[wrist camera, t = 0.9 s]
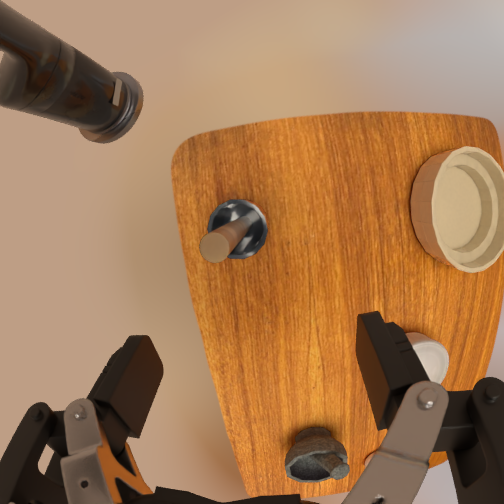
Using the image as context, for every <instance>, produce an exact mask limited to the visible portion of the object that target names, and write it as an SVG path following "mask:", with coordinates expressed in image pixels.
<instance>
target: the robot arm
mask: <svg viewBox="0 0 504 504" xmlns="http://www.w3.org/2000/svg"><path fill="white" fill-rule="evenodd" d="M0 51H3V52H4V55H3V58H2V61H1V63H0V106H2V107H5V108H9V109H13V110H18V111H22V112H26V113H29V114H33V115H37V116H41V117H44V118H48V119H51V120H54V121H58V122H61V123H65V124H68V125H71V126H75V127H78V128H81V129H84V130H87V131H88V132H91V133H94V134H103V133H106V132H108V131H110V130H112V129H113V128H115V127H116V126H117V125H118V124H119V123H120V122H121V121H122V120H123V118H124V117H125V115H126V113H127V111H128V109H129V106H130V103H131V91H130V88H129V86H128V84H127V83H126V82H125V81H123V80H122V79H120V78H118V77H116V76H115V75H114V74H112V73H111V72H109V71H108V70H107V69H105V68H104V67H102V66H101V65H99V64H98V63H96V62H95V61H93V60H92V59H91V58H89V57H88V56H86V55H84V54H83V53H82V52H80V51H78V50H77V49H75V48H74V47H72V46H70V45H69V44H67V43H66V42H64V41H63V40H61V39H60V38H58V37H56V36H55V35H53V34H51V33H50V32H48V31H47V30H45V29H44V28H42V27H41V26H39V25H38V24H36V23H34V22H33V21H31V20H30V19H28V18H26V17H25V16H23V15H22V14H20V13H18V12H17V11H15V10H14V9H12V8H11V7H9V6H8V5H6V4H5V3H3V2H2V1H1V0H0ZM356 356H357V361H358V364H359V367H360V370H361V374H362V377H363V380H364V384H365V387H366V390H367V394H368V397H369V401H370V404H371V408H372V411H373V415H374V418H375V422H376V426H377V430H378V431H379V430H383V429H386V428H387V430H388V432H387V434H386V436H385V438H384V440H383V441H382V443H381V445H380V447H379V448H378V449H377V450H376V452H375V453H374V455H373V457H372V458H371V460H370V462H369V463H368V465H367V467H366V468H365V470H364V471H363V473H362V475H361V476H360V478H359V479H358V481H357V482H356V484H355V485H354V487H353V488H352V490H351V491H350V493H349V494H348V495H347V497H346V498H345V500H344V501H343V502H342V504H412V502H413V500H414V498H415V496H416V495H417V493H418V491H419V489H420V487H421V484H422V482H423V480H424V478H425V476H426V473H427V471H428V468H429V463H428V461H429V458H430V455H431V453H432V452H441V451H446V453H447V457H448V460H449V464H450V468H451V472H452V476H453V480H454V484H455V488H456V493H457V499H458V504H504V382H502V381H501V380H499V379H497V378H494V377H487V378H483V379H481V380H479V381H478V382H477V383H476V384H475V386H474V388H473V390H466V391H446V390H445V388H444V387H443V386H441V385H440V384H438V383H436V382H433V381H431V380H430V379H429V377H428V375H427V373H426V371H425V369H424V367H423V365H422V363H421V361H420V359H419V357H418V356H417V354H416V352H415V350H414V349H413V346H412V345H411V343H410V341H409V340H408V337H407V336H406V334H405V332H404V330H403V329H402V328H401V327H399V326H398V325H397V324H395V323H394V322H389V323H385V322H384V320H383V319H382V317H381V315H380V313H379V312H378V311H374V312H369V313H364V314H358V316H357V333H356ZM162 377H163V364H162V361H161V359H160V357H159V355H158V353H157V351H156V349H155V347H154V345H153V343H152V341H151V339H150V337H149V336H147V335H133V336H129V337H128V339H127V340H126V342H125V343H124V345H123V347H121V348H120V349H119V350H117V351H116V352H115V353H114V354H113V355H112V356H111V358H110V359H109V361H108V363H107V366H105V368H104V369H103V373H101V374H100V376H99V378H98V379H97V381H96V383H95V384H94V386H93V388H92V390H91V391H90V393H89V395H88V397H87V398H86V399H84V398H82V399H77V400H75V401H73V402H72V403H70V404H69V405H68V407H67V408H66V410H65V411H52V410H51V408H50V407H49V406H48V405H47V404H46V403H43V402H39V403H36V404H34V405H32V406H31V407H30V408H29V409H28V411H27V412H26V414H25V416H24V417H23V419H22V421H21V423H20V424H19V426H18V428H17V430H16V432H15V434H14V435H13V437H12V439H11V441H10V443H9V445H8V447H7V449H6V451H5V453H4V455H3V457H2V459H1V461H0V504H319V503H315V502H310V501H304V500H301V498H300V494H292V495H274V496H258V497H254V498H250V499H244V500H238V501H232V502H226V503H221V502H217V501H214V500H211V499H208V498H205V497H202V496H199V495H196V494H193V493H191V492H188V491H181V490H175V489H169V488H163V487H158V486H157V487H156V490H155V493H153V492H152V491H151V490H150V488H149V487H148V486H147V485H146V483H145V482H144V480H143V478H142V476H141V474H140V472H139V469H138V467H137V465H136V462H135V460H134V457H133V455H132V452H131V450H130V447H129V445H128V443H127V442H126V440H127V438H128V437H133V438H139V437H140V435H141V432H142V429H143V426H144V424H145V421H146V418H147V416H148V413H149V411H150V408H151V405H152V403H153V400H154V398H155V395H156V392H157V389H158V387H159V385H160V382H161V379H162ZM46 444H47V445H48V446H49V447H50V448H52V450H54V454H53V456H52V458H51V460H50V463H49V465H48V467H47V470H46V472H45V475H43V474H42V473H41V472H40V471H39V469H38V461H39V459H40V457H41V454H42V452H43V450H44V448H45V446H46Z"/></svg>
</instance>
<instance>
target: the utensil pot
mask: <svg viewBox="0 0 504 504" xmlns="http://www.w3.org/2000/svg"><path fill="white" fill-rule="evenodd" d="M242 216H246V217H248V218H249V219H250V220H251V222H252V226H251V228H250V230H249V231H248V232H247V233H246V235H245V236H244V237H243V238H242V239H241V241H240V242H239V243H238V244H237V245H236V247H235V248H234V249H233V250H232V252H231V253H230V254H229V255H228V256H227V257H228V258H230V259H245V258H247V257H249V256H252V255H254V254H256V253H257V252H258V251H259V249H260V248H261V247H262V246H263V245H264V243H265V240H266V236H267V232H268V227H269V222H268V217H267V214H266V212H265V211H264V209H263V208H262V207H261V206H260V205H259V204H257V203H255V202H253V201H251V200H229V201H227V202H225V203H222V204H220V205H219V206H218V207H217V208H216V209H215V210H214V212H213V213H212V214H211V216H210V219H209V223H208V228H207V230H208V233H210V232H212V231H214V230H216V229H218V228H220V227H222V226H224V225H226V224H228V223H230V222H232V221H234V220H236V219H238V218H240V217H242Z"/></svg>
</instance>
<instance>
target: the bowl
mask: <svg viewBox="0 0 504 504" xmlns="http://www.w3.org/2000/svg"><path fill="white" fill-rule="evenodd" d="M410 202H411V217H412V223H413V226H414V229H415V233H416V236H417V238H418V240H419V241H420V243H421V245H422V246H423V248H424V249H425V251H426V252H427V253H428V254H430V255H431V256H432V257H433V258H435V259H436V260H437V261H440V262H442V263H444V264H447V265H449V266H451V267H454V268H456V269H458V270H462V271H465V272H469V273H474V272H479V271H483V270H485V269H486V268H488V267H489V266H490V265H492V264H493V263H494V262H495V261H496V260H497V259H498V257H499V256H500V255H501V253H502V252H503V250H504V173H503V171H502V169H501V167H500V166H499V164H498V163H497V162H496V161H495V160H494V159H493V157H492V156H491V155H490V154H488V153H486V152H485V151H483V150H481V149H480V148H477V147H467V146H464V147H460V148H456V149H452V150H448V151H444V152H441V153H438V154H436V155H434V156H431V157H430V158H429V159H428V160H427V161H426V162H425V163H424V164H423V165H422V166H421V168H420V170H419V172H418V174H417V176H416V179H415V181H414V183H413V189H412V195H411V201H410Z"/></svg>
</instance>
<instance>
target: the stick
mask: <svg viewBox="0 0 504 504" xmlns="http://www.w3.org/2000/svg"><path fill="white" fill-rule="evenodd" d="M251 226H252V222H251V220H250V219H249V218H248V217H246V216H242V217H240V218H238V219H236V220H234V221H232V222H230V223H228V224H226V225H224V226H222V227H220V228H218V229H216V230H214V231H212V232H210V233H208V234H206V235H205V236H204V237H203V238H202V239H201V241H200V245H199V249H200V253H201V255H202V256H203V258H204V259H205V260H207V261H209V262H212V263H219V262H222V261H223V260H225V259H226V258H227V256H228V255H229V254H230V253H231V252H232V250H233V249H234V248H235V247H236V245H237V244H238V243H239V242H240V241H241V239H242V238H243V237H244V236H245V235H246V233H247V232H248V231H249V230H250V228H251Z"/></svg>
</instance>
